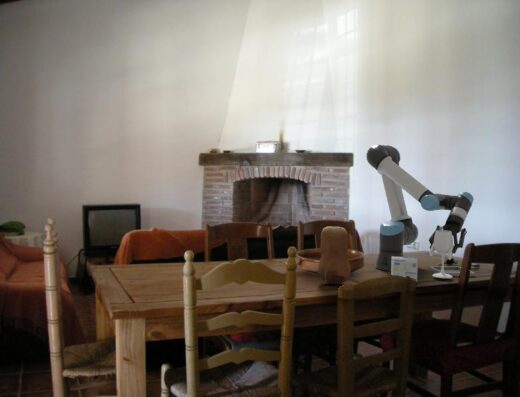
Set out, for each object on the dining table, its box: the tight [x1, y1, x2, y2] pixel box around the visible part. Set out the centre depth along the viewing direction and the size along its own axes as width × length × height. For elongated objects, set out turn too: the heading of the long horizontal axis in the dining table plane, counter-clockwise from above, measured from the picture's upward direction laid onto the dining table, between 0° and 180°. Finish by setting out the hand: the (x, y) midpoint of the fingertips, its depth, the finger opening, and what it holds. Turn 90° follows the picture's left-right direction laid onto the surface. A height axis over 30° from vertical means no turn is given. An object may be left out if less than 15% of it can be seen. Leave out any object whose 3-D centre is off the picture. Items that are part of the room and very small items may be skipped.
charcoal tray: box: [427, 265, 476, 278], centre depth 239 cm, size 16×16×2 cm
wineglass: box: [432, 229, 454, 279], centre depth 224 cm, size 9×9×21 cm
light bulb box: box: [390, 256, 419, 282], centre depth 218 cm, size 11×7×11 cm, turn 84°
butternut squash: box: [317, 226, 351, 286], centre depth 209 cm, size 14×13×25 cm
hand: (439, 256), depth 222 cm, fingers closed on wineglass, 8 cm apart
